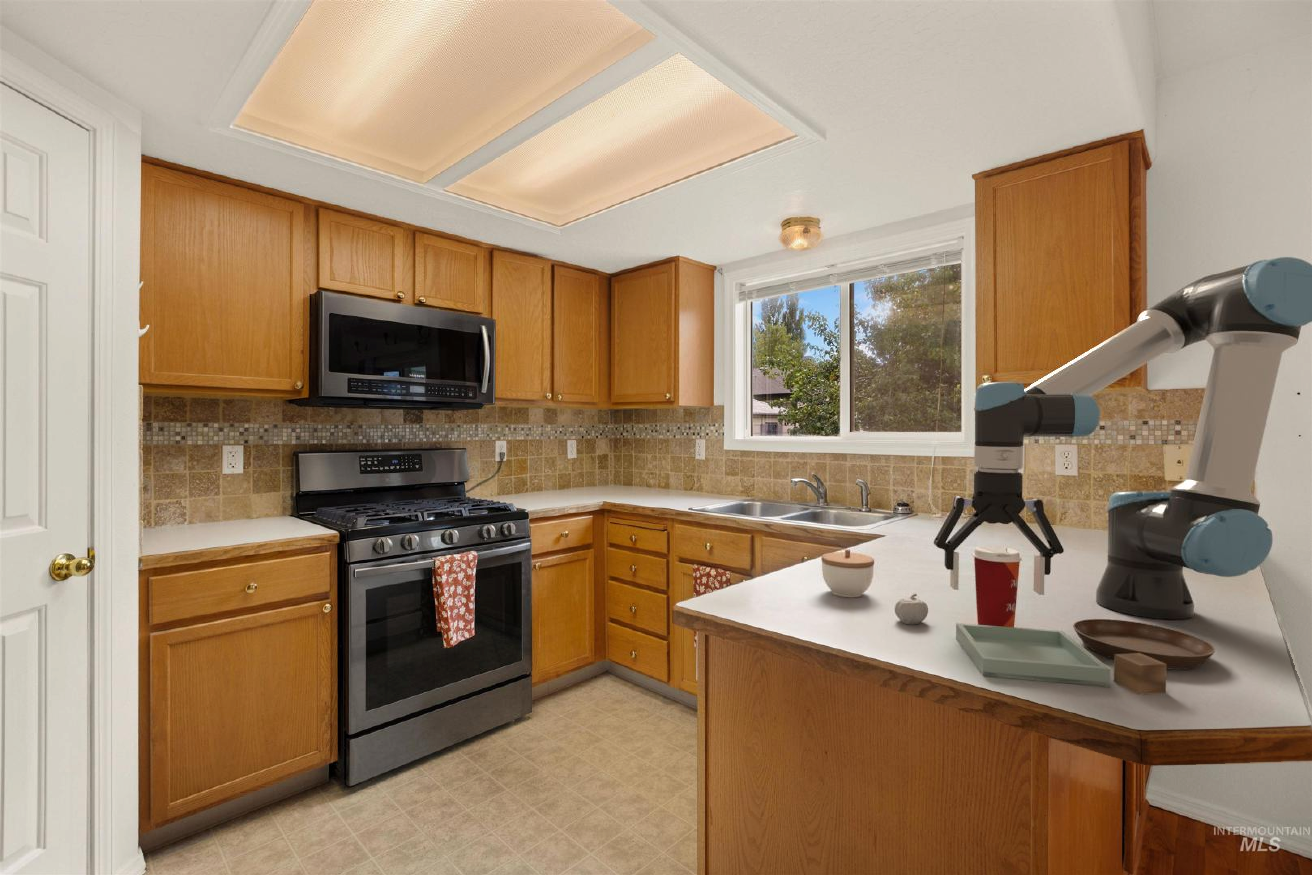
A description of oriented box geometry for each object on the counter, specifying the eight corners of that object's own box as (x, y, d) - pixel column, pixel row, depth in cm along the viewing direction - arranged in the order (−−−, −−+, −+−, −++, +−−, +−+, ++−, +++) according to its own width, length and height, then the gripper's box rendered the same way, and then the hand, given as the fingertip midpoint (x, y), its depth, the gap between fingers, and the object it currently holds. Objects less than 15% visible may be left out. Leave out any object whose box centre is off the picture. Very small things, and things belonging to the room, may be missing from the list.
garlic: (914, 616, 116) (914, 589, 116) (935, 625, 111) (935, 596, 111) (887, 619, 114) (887, 591, 114) (907, 628, 109) (908, 599, 109)
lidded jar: (879, 591, 133) (879, 548, 133) (866, 603, 124) (867, 557, 124) (829, 584, 139) (830, 542, 139) (814, 595, 130) (814, 551, 130)
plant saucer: (1089, 627, 111) (1090, 610, 111) (1222, 655, 98) (1223, 636, 97) (1058, 651, 99) (1058, 632, 99) (1204, 687, 86) (1205, 665, 86)
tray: (1062, 645, 101) (1062, 630, 101) (1109, 686, 85) (1110, 668, 85) (955, 637, 105) (956, 623, 104) (982, 675, 89) (983, 658, 89)
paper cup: (1027, 637, 105) (1029, 555, 105) (978, 634, 106) (980, 553, 106) (1011, 622, 113) (1012, 546, 112) (965, 619, 114) (966, 544, 114)
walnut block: (1139, 680, 88) (1139, 652, 87) (1165, 693, 84) (1166, 664, 84) (1113, 682, 87) (1114, 654, 87) (1139, 694, 83) (1139, 665, 83)
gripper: (926, 470, 108) (924, 591, 109) (1087, 473, 102) (1085, 601, 103) (918, 467, 115) (916, 580, 116) (1068, 470, 110) (1066, 589, 110)
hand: (995, 590), depth 109 cm, fingers open, 13 cm apart
